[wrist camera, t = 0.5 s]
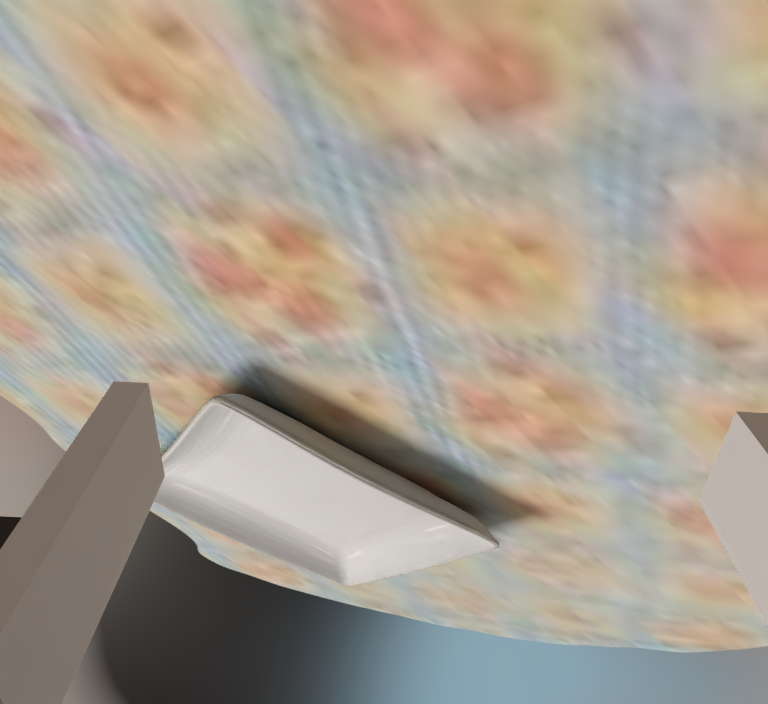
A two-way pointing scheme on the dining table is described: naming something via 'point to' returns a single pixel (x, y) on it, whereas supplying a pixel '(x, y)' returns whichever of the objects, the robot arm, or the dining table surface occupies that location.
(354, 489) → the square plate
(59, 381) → the dining table surface
